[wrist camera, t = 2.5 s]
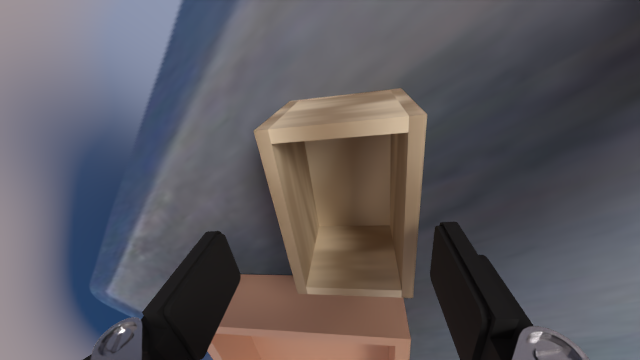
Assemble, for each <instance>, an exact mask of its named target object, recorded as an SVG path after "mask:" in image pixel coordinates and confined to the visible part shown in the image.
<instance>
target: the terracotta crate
mask: <svg viewBox="0 0 640 360" xmlns="http://www.w3.org/2000/svg"><path fill="white" fill-rule="evenodd" d="M240 275H241V279H240V283H239V285H238V287H237V289H236V291H235V293H234V295H233V297H232V299H231V302H230V304H229V306H228V308H227V310H226V312H225V314H224V316H223V318H222V321H221V323H220V325H219V327H218V329H217V331H216V333H215V335H214V337H213V340H212V342H211V344H210V346H209V348H208V350H207V351H208V353H209V354H210V356H211V357H212V359H213V360H409V357H410V344H411V337H410V332H409V326H408V321H407V315H406V310H405V304H404V299H403V298H397V297H371V296H345V295H319V294H298V292H297V289H296V285H295V281H294V278H293V275H249V274H240Z"/></svg>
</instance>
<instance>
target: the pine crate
mask: <svg viewBox="0 0 640 360" xmlns="http://www.w3.org/2000/svg"><path fill="white" fill-rule="evenodd" d="M426 123H427V114H426V113H425V112H424V111H423V110H422V109H421V108H420V107H419V106H418V105H417V104H416V103H415V102H414V101H413V100H412V99H411V98H410V97H409V96H408V95H407V94H406V93H405V92H404V91H403V90H402V89H401V88H399V89H391V90H382V91H374V92H365V93H356V94H348V95H339V96H330V97H322V98H313V99H305V100H296V101H289V102H288V103H287V104H286V105H285V106H283V107H282V108H281V109H280V110H278V111H277V112H276V113H275V114H274V115H272V116H271V117H270V118H269V119H267V120H266V121H265V122H264V123H263V124H261V125H260V126H259V127H258V128H256V129H255V130H254V134H255V138H256V141H257V145H258V149H259V153H260V156H261V160H262V164H263V167H264V171H265V175H266V178H267V182H268V186H269V189H270V193H271V197H272V200H273V204H274V208H275V211H276V215H277V219H278V222H279V226H280V230H281V233H282V237H283V241H284V245H285V248H286V252H287V256H288V259H289V263H290V267H291V270H292V274H293V278H294V281H295V285H296V289H297V292H298V294H319V295H345V296H371V297H397V298H413V290H414V277H415V265H416V252H417V239H418V226H419V213H420V200H421V188H422V175H423V162H424V149H425V136H426Z"/></svg>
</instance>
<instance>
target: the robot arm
mask: <svg viewBox="0 0 640 360" xmlns="http://www.w3.org/2000/svg"><path fill="white" fill-rule="evenodd" d="M430 276H431V281H432V284H433V287H434V289H435V292H436V295H437V297H438V300H439V303H440V306H441V308H442V311H443V314H444V317H445V319H446V322H447V325H448V328H449V330H450V333H451V336H452V339H453V341H454V344H455V347H456V349H457V352H458V355H459V358H460V360H589V358H588V357H587V355H586V354H585V353H584V352H583V351H582V350H581V349H580V347H578V346H577V345H576V344H575V343H573V342H572V341H571V340H570V339H568V338H567V337H565V336H563V335H562V334H560V333H558V332H556V331H553V330H551V329H548V328H544V327H539V326H533V324H532V323H531V321H530V320H529V318H528V317H527V316H526V314H525V313H524V311H523V310H522V308H521V307H520V305H519V304H518V302H517V301H516V299H515V298H514V296H513V295H512V293H511V292H510V291H509V289H508V288H507V286H506V285H505V283H504V282H503V280H502V279H501V277H500V276H499V274H498V273H497V271H496V270H495V268H494V267H493V265H492V264H491V263H490V261H489V260H488V259H487V257H486V256H484V255H478V254H477V252H476V251H475V249H474V248H473V246H472V245H471V243H470V242H469V240H468V239H467V237H466V235H465V234H464V232H463V231H462V229H461V228H460V226H459V225H458V223H457V222H441V223H440V225H439V226H436V227H435V232H434V242H433V251H432V260H431V270H430ZM240 279H241V275H240V272H239V269H238V267H237V264H236V262H235V259H234V257H233V254H232V252H231V249H230V247H229V244H228V242H227V240H226V237H225V235H224V234H222V233H221V232H220V231H211V232H206V233H205V234H204V235H203V236H202V238H201V239H200V240H199V241H198V243H197V244H196V245H195V246H194V248H193V249H192V250H191V252H190V253H189V254H188V255H187V257H186V258H185V259H184V260H183V262H182V263H181V264H180V265H179V267H178V268H177V269H176V270H175V272H174V273H173V274H172V275H171V277H170V278H169V279H168V280H167V282H166V283H165V284H164V285H163V287H162V288H161V289H160V291H159V292H158V293H157V294H156V296H155V297H154V298H153V299H152V301H151V302H150V303H149V304H148V306H147V307H146V308H145V309H144V311H143V312H142V313H143V315H144V317H143V318H142V319H141V320H140V319H139V318H134V317H133V318H128V319H125V320H123V321H120V322H119V323H117V324H115V325H114V326H112V327H111V328H110V329H109V330H107V331H106V332H105V333H104V334H103V335H102V336H101V337H100V338H99V340H98V341H97V343H96V344H95V346H94V349H93V351H92V354H91V355H90V356H88V357H86V358H85V359H83V360H200V359H202V358H203V357H204V356H205V354H206V352H207V350H208V348H209V346H210V344H211V342H212V340H213V337H214V335H215V333H216V331H217V329H218V327H219V325H220V323H221V321H222V318H223V316H224V314H225V312H226V310H227V308H228V306H229V304H230V302H231V299H232V297H233V295H234V293H235V291H236V289H237V287H238V285H239V283H240Z"/></svg>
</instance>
